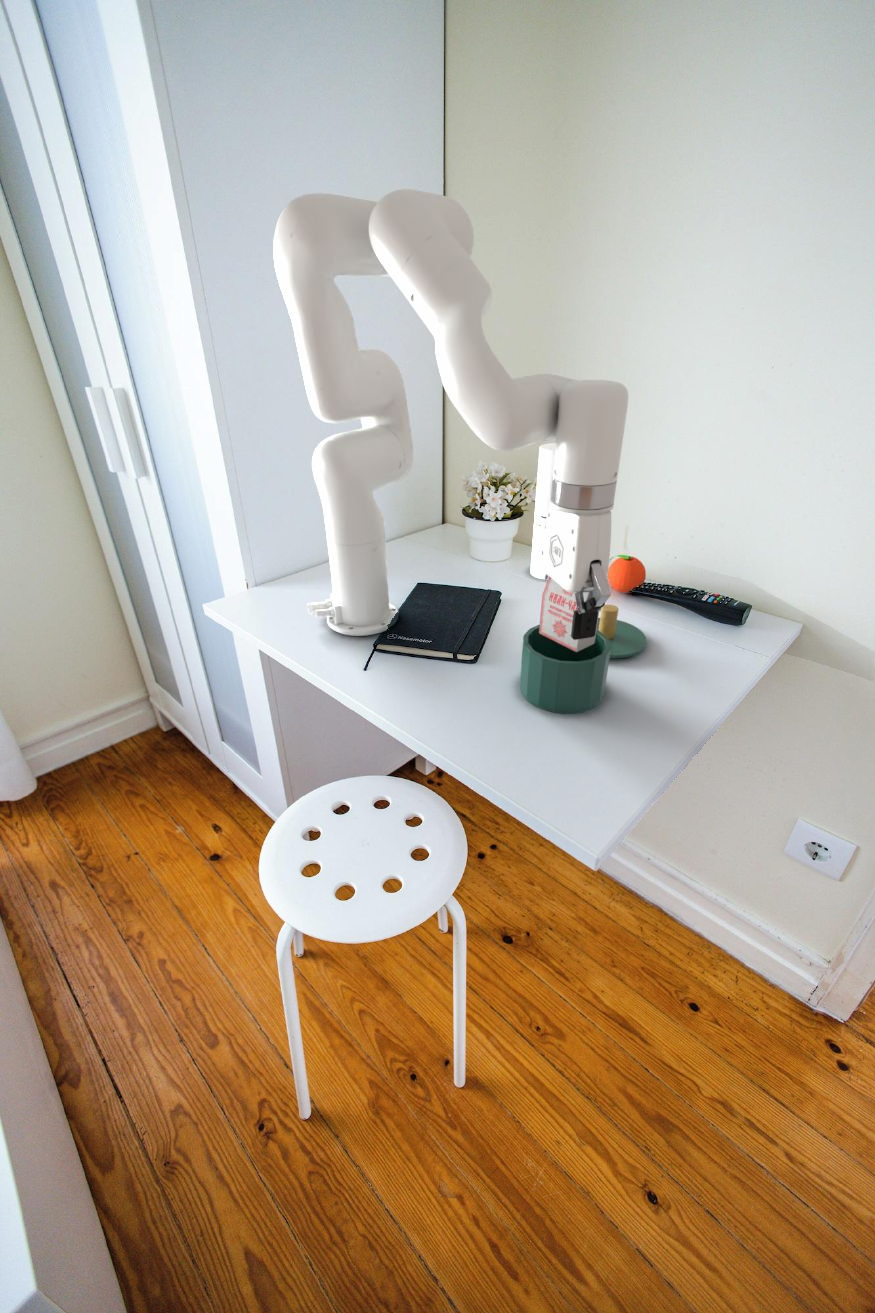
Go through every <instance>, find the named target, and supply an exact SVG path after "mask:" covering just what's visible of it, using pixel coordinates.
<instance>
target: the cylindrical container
mask: <svg viewBox="0 0 875 1313" xmlns="http://www.w3.org/2000/svg"><path fill="white" fill-rule="evenodd" d="M555 444H556V442H552V443H544V444H540V445H539V452H538V464H537V465H538V466H537V479H536V480H537V481H536V493H535V507H534V521H533V533H532V544H531V545H532V547H531V559H530V575H531V576H532V577H534V578H536V579H539V580H544V581H545V575H546V572H545V571H544V570H543V569H542V567H541V552H542V544H543V536H544V529H545V523H546V518H547V513H548V509H549V505H550V502H551V491H552V479H553V468H554V456H555Z"/></svg>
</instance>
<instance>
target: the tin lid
mask: <svg viewBox="0 0 875 1313" xmlns="http://www.w3.org/2000/svg"><path fill="white" fill-rule="evenodd" d="M618 615H619V607H618V606H616V605H613V604H605V605H604V606H603V607H602V608H601V611H600V617H598V623H597V630H598V631H600V632H601V633H602V634H604V635H605V636H606V637H607V638H608V639H609V641H610V645H611V653H610V659H621V658H622V659H623V658H629V657H632V656H636V655H638V654H640V653H641V652H642V651H644V650H645V648H646V646H647V642H648V639H647V636H646V635H645V633H644V632H643V631H642V630H641V629H640V628H638V627H636V626H635V625H634V624H631V623H628V622H626V621H623V620H620V619H618Z"/></svg>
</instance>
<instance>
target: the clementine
mask: <svg viewBox="0 0 875 1313" xmlns="http://www.w3.org/2000/svg"><path fill="white" fill-rule="evenodd" d="M615 557H617V558H616V559H615V560H614V561H613V562H612V563H611V564H610V565H609V566H608V572H607V582H608V583H609V585H610V586H611V588H613V589H614V590H615V591H616V592H619V593H622V594H629V593H630V594H631V593H633V592H634V591H632V592H629V591H630V590H632V589H633V588H634V587H637V586H639V585H641V584H642V585H643V584H644V582H645V580H646V576H647V575H646V574H647V573H646V567H645V565H644V564H643V562H642V561H641V560H639V559H638V557H635V556H631V555H626V554H618V555H614V556H612V557H611V558H609V562H611V560H613V559H614V558H615ZM642 585H641V586H642Z"/></svg>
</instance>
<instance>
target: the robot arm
mask: <svg viewBox="0 0 875 1313" xmlns="http://www.w3.org/2000/svg"><path fill="white" fill-rule="evenodd" d="M470 218H471V217H470V216H469V215H468V212H467V211H466V209H465V208H464V207H463V206H462V205H461V204H460V203H459V202H458V201H456V200H455V199H453V198H451V197H449V196H446V195H442V194H437V193H430V192H426V191H422V190H417V189H409V188H408V189H407V188H404V189H397V190H393V191H390V192H388V193H387V194H385V195H384V196H383V197H381V198H380V199H379V200H377V201H374V200H369V199H361V198H356V197H349V196H344V195H339V194H333V193H320V192H318V193H316V192H315V193H307V194H303V195H300V196H298V197H295V198H293V199H292V200H291V201H289V202H288V203H287V205H286V206H285V207H284V208H283V209H282V211H281V213H280V214H279V217H278V219H277V222H276V224H275V228H274V229H275V230H274V235H273V248H272V249H273V261H274V268H275V273H276V277H277V280H278V284H279V287H280V290H281V293H282V295H283V299H284V301H285V304H286V307H287V310H288V314H289V316H290V319H291V323H292V327H293V331H294V338H295V343H296V347H297V352H298V357H299V363H300V368H301V372H302V376H303V382H304V386H305V391H306V395H307V399H308V402H309V405H310V408H311V410H312V412H313V414H314V416H315V417H316V418H318V419H319V420H320V421H322V422H324V423H327V424H341V423H343V424H344V423H348V422H352V421H353V422H354V421H358V420H360V422H361V425H362V426H361V427H362V428H356V429H352V430H348V431H343V432H339V433H336V434H333V435H331V436H329V437H327V438H325V439H324V440H322V441H321V442H320V443H319V444H318V445H317V447H316V448H315V449H314V452H313V454H312V458H311V470H312V475H313V479H314V482H315V485H316V488H317V492H318V494H319V498H320V502H321V506H322V511H323V518H324V524H325V532H326V534H325V535H326V542H327V550H328V558H329V566H330V567H329V568H330V578H331V586H332V593H330V594H329V595H330V598H327V599H325V601H320V602H318V601H316V602H315V601H314V602H308V603H306V604H307V612H308V615H313V614H315V615H316V619H322V618H326V623H327V625H328V627H329V628H330V629H331V630H333V631H334V632H337V633H339V634H341V635H346V636H352V637H365V636H371V635H372V636H373V635H377V634H380V633H384V632H386V631H388V630H389V629H388V626H387V625H388V624H390V622H391V620H392V618H394V616H395V614H396V613H397V612H398V613H399V610H398V608H397V607H396V606H395V605H394V604H392V603H390V593H389V592H390V591H389V576H388V559H387V543H386V529H385V528H386V527H385V520H384V516H383V513H382V511H381V509H380V506H379V505H378V503H377V502H376V500H375V498H374V494H373V493H374V492H376V491H378V490H380V489H383V488H386V487H390V486H391V485H395V484H397V483H399V482H401V481H402V480H404V479H405V478H406V477H407V476H408V475H409V474H410V472H411V469H412V467H413V463H414V443H413V437H412V436H413V435H412V429H411V422H410V415H409V409H408V408H409V407H408V401H407V394H406V386H405V383H404V379H403V376H402V373H401V372H400V371H401V370H400V369H399V367H398V365H397V364H396V362H395V360H393V358H392V357H391V356H390V355H389V354H387V353H386V352H384V351H382V350H379V349H377V348H376V349H375V348H362V349H360V347H359V343H358V339H357V334H356V326H355V320H354V317H353V314H352V310H351V308H350V306H349V303H348V302H347V300H346V298H345V296H344V294H343V293H342V292H341V290H340V288H339V287H338V286H337V284H336V282H335V278H336V277H337V276H348V277H349V276H351V277H353V276H355V277H356V276H357V277H384V278H385V277H390V278H391V279H392V280H393V282H394V284H395V285H396V286H397V287H398V289H399V290H400V291H401V293H402V294H403V296H404V297H405V299H406V300H407V301H408V302H409V304H410V306H411V307H412V308H413V309H414V311H415V312H416V314H417V315H418V317H419V318H420V320H421V321H422V322H423V324H424V325H425V326H426V328H427V329H428V331H429V333H431V335H432V337H433V339H434V346H435V348H434V350H435V360H436V364H437V368H438V373H439V376H440V380H441V383H442V387H443V389H444V391H445V393H446V395H447V397H448V399H449V400H450V402H451V403H452V405H453V406H454V408H455V409H456V411H457V412H458V413H459V414H460V416H461V417H462V419H463V420H464V422H465V423H466V424H467V425H468V427H469V428H470V429H471V431H472V432H473V433H474V434H475V435H476V436H477V438H478V439H480V440H481V441H482V442H483V443H484V444H485V445H486V446H488V447H490V448H491V449H493V450H496V451H499V452H514V451H518V450H521V449H523V448H526V447H529V446H532V445H534V444H538V443H542V442H546V441H550V440H553V439H555V443H556V444H555V456H554V468H553V479H552V491H551V502H550V505H549V509H548V513H547V518H546V523H545V529H544V536H543V544H542V552H541V567H542V569H543V570H544V571H545V572H546V575H545V580H544V581H545V583H546V584H547V581H548V579H549V576H550V577H551V578H552V579H553V580H554V581H555V582H557V583H558V584H559V585H560V586H561V587H562V588H563V589H565V590H566V591H567V592H569V593H575V598H576V604H577V610H575V611H574V614H573V622H572V631H571V637H572V638H573V639H574V640H577V639H584V638H590V637H594V636H595V632H596V625H597V618H599V616H598V611H599V612H601V609H602V607H603V606H604V605H606V602H607V601H608V600H609V599H610V597H611V594H612V592H611V589H610V586H609V584H608V583H609V582H608V580H607V579H608V570H609V566H610V561H609V560H610V554H611V542H612V510H613V509H614V506H615V497H616V491H617V483H618V478H619V477H618V476H619V469H620V463H621V456H622V449H623V441H624V436H625V435H624V434H625V428H626V420H627V415H628V414H627V413H628V406H629V391H628V388H627V387H626V386H625V385H624V384H623V383H620V382H618V381H613V380H606V379H582V380H581V379H580V380H578V379H573V378H569V377H566V376H561V375H557V374H552V373H538V374H537V373H536V374H532V375H524V376H518V377H515V378H512V376H511V375H510V374H509V372H508V371H507V370H506V368H505V367H504V366H503V364H502V363H501V361H499V359H498V357H497V356H496V355H495V353H494V352H493V350H492V348H491V347H490V345H489V343H488V341H487V339H486V336H485V334H484V330H483V326H482V325H483V324H482V321H483V319H484V318H485V316H486V314H487V313H488V311H489V309H490V306H491V304H492V299H493V291H492V287H491V285H490V283H489V282H488V280H487V278H486V277H485V275H483V273H482V272H481V270H480V269H479V268H478V267H477V265H476V263H475V262H474V261H473V259H472V258H471V257H472V254H473V251H474V250H473V249H474V245H475V244H474V241H475V236H474V228H473V224H472V220H471V219H470ZM591 581H592V586H589V587H583V586H584V584H585V583H587V582H591ZM585 592H591V596H592V598H589V599H588V600H587V601H585V602H584V596H583V593H585ZM387 629H388V630H387Z"/></svg>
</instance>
